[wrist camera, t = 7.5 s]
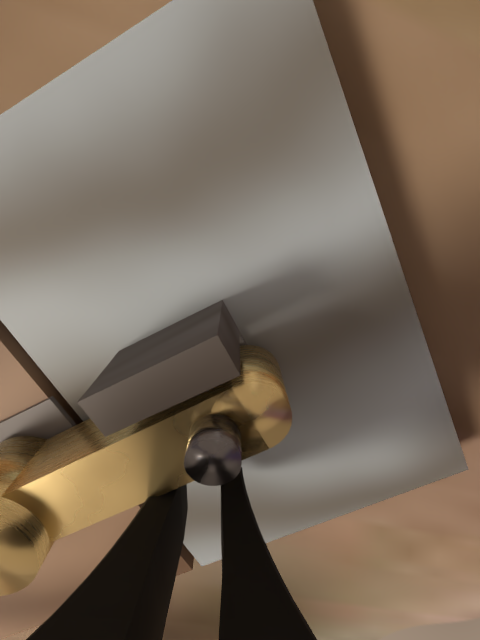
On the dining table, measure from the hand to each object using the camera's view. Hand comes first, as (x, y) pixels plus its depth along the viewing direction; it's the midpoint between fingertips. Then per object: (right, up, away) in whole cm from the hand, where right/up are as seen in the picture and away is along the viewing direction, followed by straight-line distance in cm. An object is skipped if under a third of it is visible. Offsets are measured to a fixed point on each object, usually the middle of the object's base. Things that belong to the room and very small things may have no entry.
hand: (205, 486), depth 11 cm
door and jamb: (-5, +2, +2) cm, 6 cm away
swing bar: (-3, +2, 0) cm, 3 cm away
